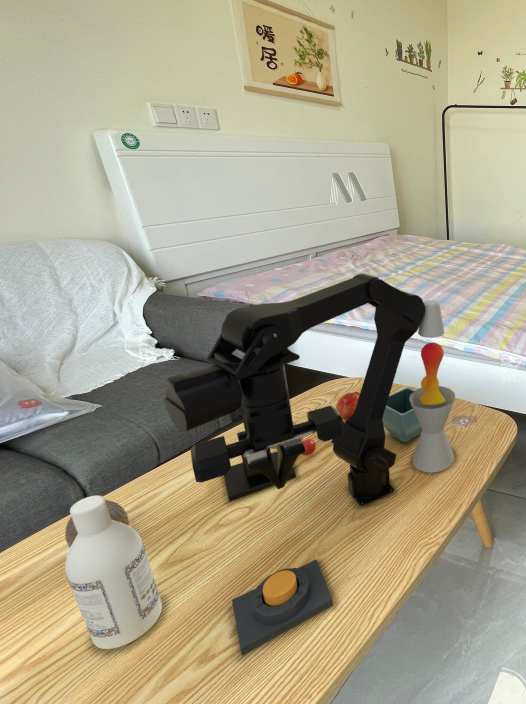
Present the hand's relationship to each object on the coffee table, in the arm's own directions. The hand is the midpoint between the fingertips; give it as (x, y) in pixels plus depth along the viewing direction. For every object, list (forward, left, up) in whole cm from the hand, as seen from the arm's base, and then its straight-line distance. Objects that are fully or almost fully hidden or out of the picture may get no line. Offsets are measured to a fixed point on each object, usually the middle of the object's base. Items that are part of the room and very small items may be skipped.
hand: (280, 486), depth 66 cm
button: (+3, +10, -9) cm, 14 cm away
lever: (-3, -21, -8) cm, 23 cm away
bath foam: (+19, +1, -12) cm, 23 cm away
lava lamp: (-29, -6, -12) cm, 32 cm away
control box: (+3, +10, -12) cm, 16 cm away
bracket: (+1, -21, -12) cm, 24 cm away
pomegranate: (-20, -30, -12) cm, 38 cm away
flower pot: (-28, -18, -12) cm, 35 cm away
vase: (+23, -17, -12) cm, 31 cm away
